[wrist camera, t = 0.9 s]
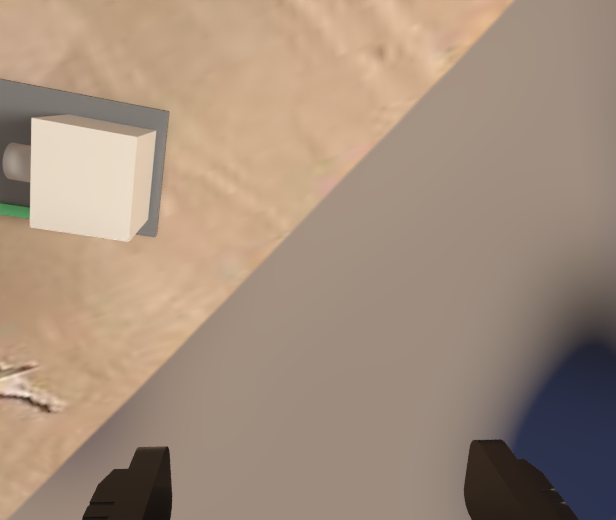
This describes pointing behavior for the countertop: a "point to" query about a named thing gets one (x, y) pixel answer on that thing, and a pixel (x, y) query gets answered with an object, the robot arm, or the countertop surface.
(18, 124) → the frame
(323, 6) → the countertop surface
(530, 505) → the robot arm
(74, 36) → the countertop surface
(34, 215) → the block
